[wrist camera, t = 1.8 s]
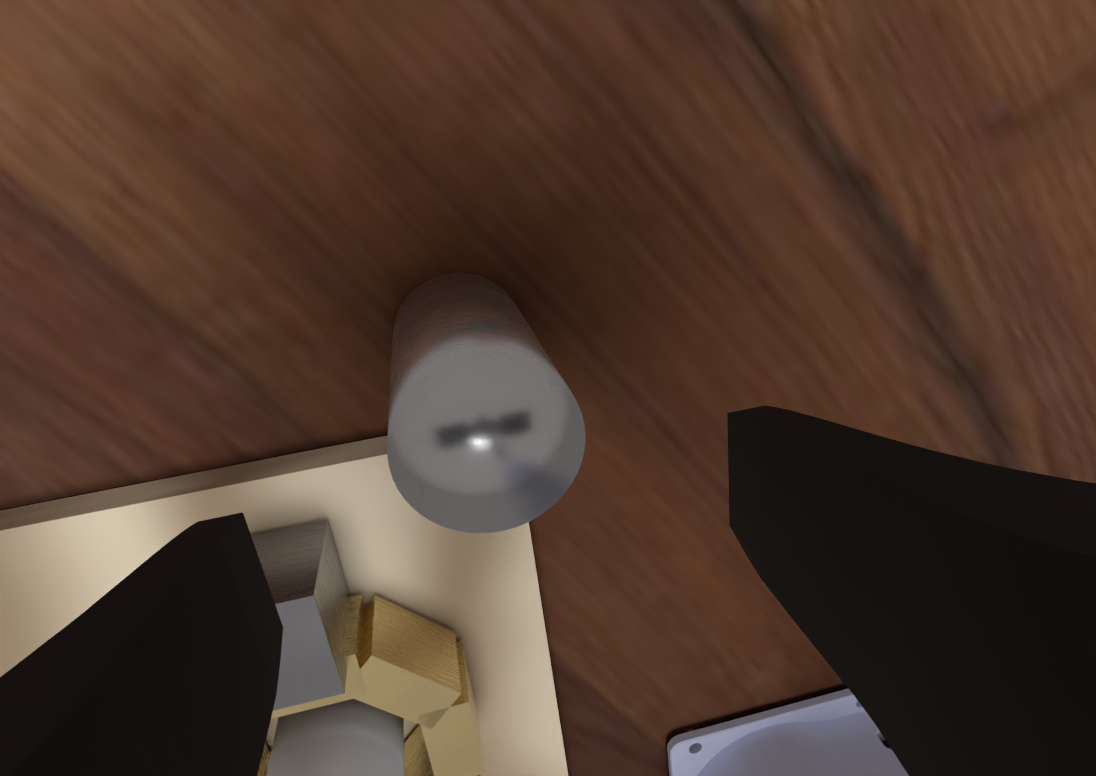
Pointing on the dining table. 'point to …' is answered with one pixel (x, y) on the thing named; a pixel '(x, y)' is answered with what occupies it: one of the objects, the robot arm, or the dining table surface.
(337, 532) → the board
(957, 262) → the dining table surface
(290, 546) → the ring nut
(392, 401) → the pin
